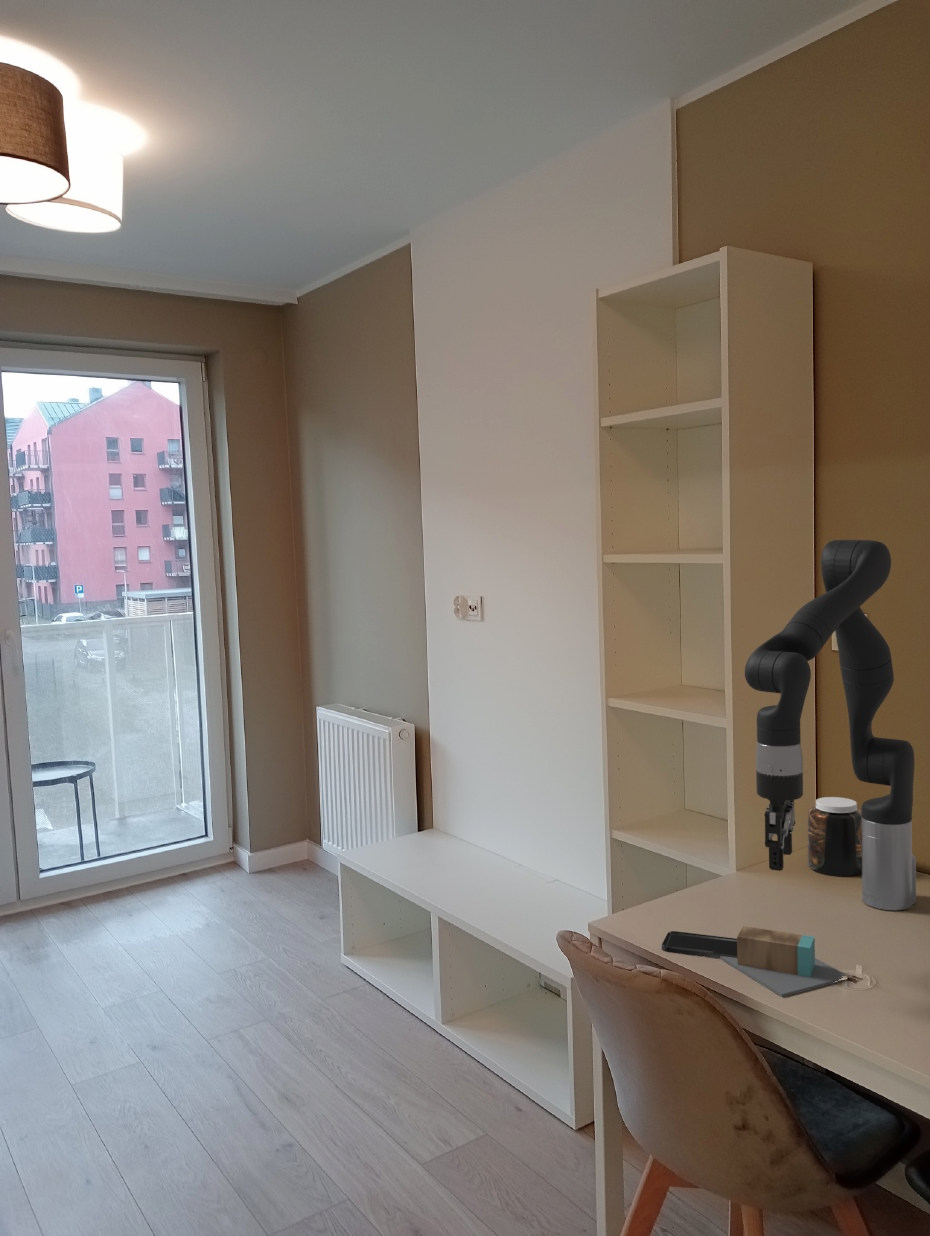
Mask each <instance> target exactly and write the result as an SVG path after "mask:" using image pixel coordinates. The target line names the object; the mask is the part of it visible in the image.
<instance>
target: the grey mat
mask: <svg viewBox="0 0 930 1236" xmlns="http://www.w3.org/2000/svg"><path fill="white" fill-rule="evenodd" d="M720 960H721V961H723V962H724V963H726V964H727V965H729V966H731V967H733V969H736V970H737V971H739V972H741V973H742V974H743V975H746V976H747V977H749V978H751V979H753V980H754V981H755V982H757V983H759V984H760V985H761V986H763V987H765V988H766V989H768V990H770V991H771V992H773V993H774V994H777V996H779V997H781V998H784V997H787V996H791V995H792V996H793V995H794V994H799V993H804V992H806V991H810V990H814V989H818V988H821V987H825V986H828V985H833V984H834V983H833V982H835V981H838V980H839V979H841V978H843V977H842V976H847V977H848V978H849V979H850V975H848V974H846V973H844V972H842V971H841V970H839V969H836V968H835V967H832V966H831V965H829V964H828V963H826V962H823V961H822V960H820V959H818V958H817V957H815V966H814V969H813V971H812V974H811V977H807V976H801V975H795V974H789V973H783V972H778V971H772V970H766V969H760V968H754V967H748V966H743V965H738V960H737V958H734V957H726V956H720ZM832 983H833V984H832Z"/></svg>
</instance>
